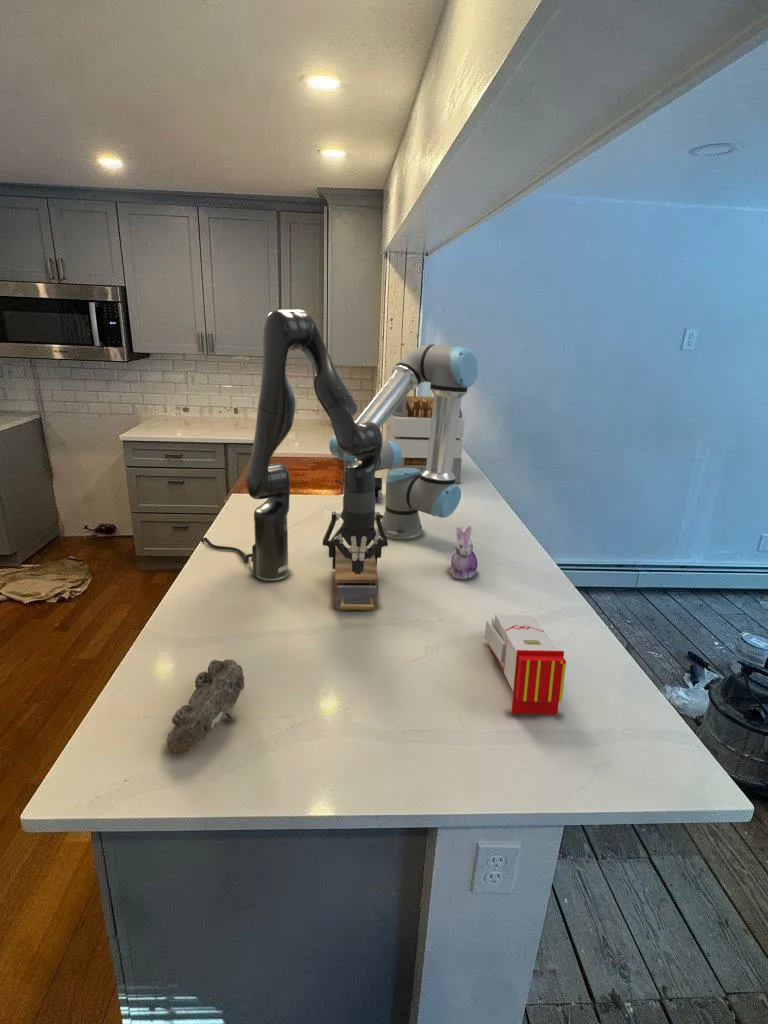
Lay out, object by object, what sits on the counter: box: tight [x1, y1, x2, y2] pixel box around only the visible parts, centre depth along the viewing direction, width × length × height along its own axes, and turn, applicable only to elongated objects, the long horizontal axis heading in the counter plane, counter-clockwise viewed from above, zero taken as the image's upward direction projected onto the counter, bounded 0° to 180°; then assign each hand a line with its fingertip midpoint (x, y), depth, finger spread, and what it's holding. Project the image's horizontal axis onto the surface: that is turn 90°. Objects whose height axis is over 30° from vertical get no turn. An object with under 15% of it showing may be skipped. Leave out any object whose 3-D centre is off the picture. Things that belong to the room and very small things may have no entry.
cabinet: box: [334, 547, 379, 609], centre depth 158 cm, size 21×11×8 cm, turn 4°
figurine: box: [449, 525, 479, 580], centre depth 169 cm, size 9×10×15 cm
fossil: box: [166, 658, 245, 754], centre depth 106 cm, size 22×10×15 cm
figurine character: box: [375, 476, 383, 503], centre depth 234 cm, size 7×8×15 cm
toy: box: [484, 614, 567, 716], centre depth 124 cm, size 12×13×30 cm
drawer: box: [336, 583, 377, 611], centre depth 153 cm, size 25×10×6 cm, turn 4°
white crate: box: [384, 394, 465, 484], centre depth 268 cm, size 34×33×41 cm
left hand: (357, 572), depth 140 cm, fingers closed
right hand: (354, 567), depth 165 cm, fingers closed on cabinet, 11 cm apart
